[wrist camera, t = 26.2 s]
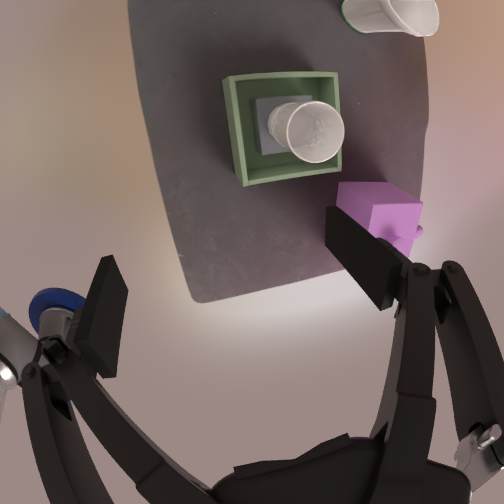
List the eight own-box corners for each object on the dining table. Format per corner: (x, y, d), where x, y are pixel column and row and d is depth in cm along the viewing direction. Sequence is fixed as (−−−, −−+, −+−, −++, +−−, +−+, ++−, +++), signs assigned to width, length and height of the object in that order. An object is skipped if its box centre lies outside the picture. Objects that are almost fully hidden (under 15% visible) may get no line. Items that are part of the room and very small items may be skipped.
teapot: (305, 182, 50) (343, 211, 38) (402, 182, 55) (446, 207, 43) (299, 252, 58) (328, 293, 46) (390, 240, 63) (425, 271, 51)
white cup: (315, 142, 41) (347, 155, 33) (269, 153, 41) (293, 169, 32) (306, 95, 37) (339, 97, 28) (257, 105, 36) (280, 107, 28)
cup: (340, 42, 36) (395, 32, 24) (323, -13, 29) (371, -39, 17) (390, 43, 37) (446, 40, 24) (375, -8, 30) (427, -22, 17)
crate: (235, 174, 46) (243, 186, 40) (221, 80, 37) (228, 76, 31) (323, 161, 48) (341, 171, 43) (317, 74, 39) (337, 72, 34)
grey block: (255, 150, 44) (261, 155, 40) (249, 98, 39) (255, 98, 36) (305, 144, 45) (315, 148, 42) (301, 94, 40) (311, 94, 37)
